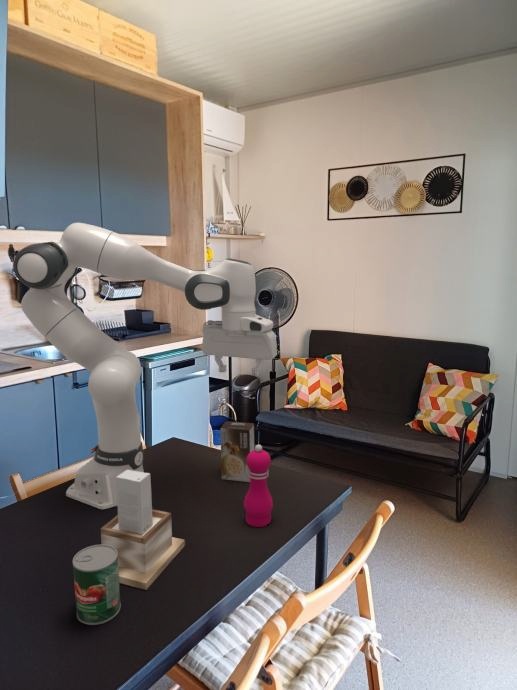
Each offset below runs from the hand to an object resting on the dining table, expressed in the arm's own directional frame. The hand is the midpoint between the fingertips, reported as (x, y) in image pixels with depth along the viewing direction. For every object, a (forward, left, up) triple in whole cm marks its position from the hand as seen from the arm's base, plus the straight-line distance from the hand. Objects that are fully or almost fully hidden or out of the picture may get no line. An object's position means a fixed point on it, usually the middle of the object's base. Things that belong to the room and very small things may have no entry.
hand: (238, 373), depth 132 cm
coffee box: (-4, +9, -34) cm, 36 cm away
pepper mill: (+10, -12, -34) cm, 38 cm away
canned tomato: (-7, -52, -34) cm, 63 cm away
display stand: (-9, -36, -34) cm, 50 cm away
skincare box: (-9, -37, -26) cm, 46 cm away
